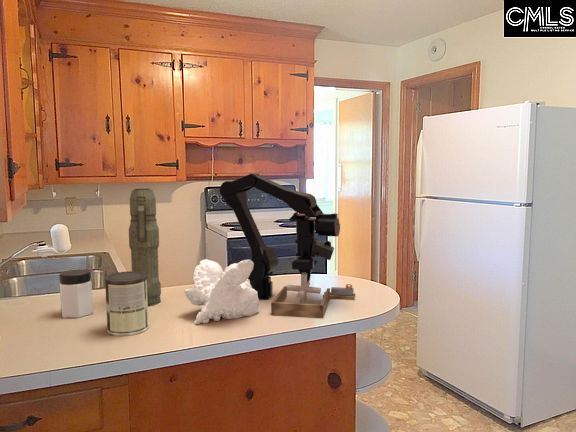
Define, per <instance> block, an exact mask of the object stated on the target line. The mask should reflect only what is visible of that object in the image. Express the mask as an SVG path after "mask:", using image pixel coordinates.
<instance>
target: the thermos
mask: <svg viewBox="0 0 576 432" xmlns="http://www.w3.org/2000/svg"><path fill="white" fill-rule="evenodd" d="M129 215H130V220H129V221H130V224H129V227H128V246H129V249H130V254H131V256H130V257H131V261H130V262H131V271H138V272H144V273H146V274H147V302H148V307H151V306H156V305H158V304H160V303H161V302H162V301H161V294H162V286H161V285H162V284H161V281H160V279H159V278H160V277H159V275H160V274H159V247H160V228H159V225H158V223H157V218H156V217H157V216H156V215H157V198H156V196H155V193H154V190H153V189H151V188H134V189H133V190H131V193H130V196H129Z"/></svg>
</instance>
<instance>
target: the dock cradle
mask: <svg viewBox="0 0 576 432" xmlns="http://www.w3.org/2000/svg"><path fill="white" fill-rule="evenodd" d="M287 298H288V291H287V285H284V286H283V287H282V289H281V290H280V291H279V292H278V293H277V295H276V296H275V297H274V299H273V300H272V301H271V303H270V304H271V305H270V306H271V309H270V311H271V313H270V314H271V316H283V317H300V318H302V317H303V318H317V319H319V318H320V319H323V318H324V315H325V313H326V311H327V307H328V305H329V303H330V300H345V301H355V300H356V293H355V292H354V296H336V295H331V288H326V291H324V292H323V295H322V300H321V303H320V304H315V303H307V304H301V302H300V303H296V302H295V303H292V302H285V301H286V299H287Z"/></svg>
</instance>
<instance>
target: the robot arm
mask: <svg viewBox="0 0 576 432" xmlns="http://www.w3.org/2000/svg"><path fill="white" fill-rule="evenodd" d="M253 188H255V189H257V190H259V191H261V192H263V193H264V194H265V193H266V194H268V195H269V196H272V197H274V198H276V199H278V200H280V201H282V202H284V203H285V204H286V205H287V206H288V207H289V208H290V209H291V210H293V211H294V212H293V214H292V216H291V217H290V218H289V219H288V220H289V222H295V234H296V235H295V237H296V239H295V241H294V242H295V244H296V253H295V258H294V259H293V260H292V261H291V269H292V270H298V273H300V275H301V273H307V281H309V282H310V281H311V276H312V271H313V270H314V268H315V266H316V265H317V262H318V260H316V259H314V258H315V257H316V258H317V257H320V258H323V259H325V260H327V261H331V259H332V256H333V254H334V250H335V247H334V246H332V242H331V241H329V240H325V241H324V242H318V239H317V238H318V237H316V234H317V235H318V236H319V237H338V236H339V235H340V232H341V223H340V220H339V216H338V215H339V214H338V213H324V212H323V211H322V210H321V207H319V205H318V203H317V199H316V197H315V195H313V194H311V193H308V192H303V191H299V190H293V189H290V188H288V187H286V186H284V185H282V184H279V183H277V182H275V181H273V180H271V179H268V178H267V177H264V176H262V175H261V174H260V173H256V172H255V173H249V174H248V175H246V176H243V177H240V178H237V179H235V180H225V181H224V182H222V183H221V185H220V186H219V189H218V190H219V194H220V196H221V198H222V200H223V201H224V203H225V204H227V205H228V207H230V208H231V209H232V211H233V213H234V215H235V217H236V219H237V221H238V224H239V226H240V229H241V230H242V233H243V234H244V237H245V240H246V241H247V244H248V247H249V249H250V255H251V256H250V257H251V259H250V260H251V261H252V262H253V263H254V265H253V270H252V272H251V273H250V275H249V277H248V279H247V280H249V283H250V285H251V286H252V289H255V291H257V295H258V298H259V300H260V299H262V300H268V299H270V297H271V296H272V295H273V290H274V289H273V286H274V285H273V284H274V283H273V281H272V275H273V274H274V271H276V269H277V268H278V265H279V260H278V259H279V256H278V255H277V254H276V251H275V247H273V246H271V247H269V246H267V245H266V243H265V241H264V239H263V237H262V235H261V233H260V230H259V228H258V226H257V223H256V222H255V220H254V217H253V215H252V213H251V210H250V209H249V207H248V204H247V203H248V201H247V199H248V197H247V192H248V191H250V190H252V189H253Z"/></svg>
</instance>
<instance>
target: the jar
mask: <svg viewBox="0 0 576 432" xmlns="http://www.w3.org/2000/svg"><path fill="white" fill-rule="evenodd" d="M91 273H92V272H91V270H89V269H81V268H80V269H69V270H66V271H61V272H60V273H59V274H58V275H59V276H58V277H59V278H58V279H59V290H60V291H59V293H60V294H59V295H60V310H61V315H62V318H64V319H66V318H68V319H73V318H74V319H75V318H76V319H78V318H82V317H85V316H88V315H92V314H93V313H94V309H93V291H92V290H93V289H92V288H93V287H92V286H93V285H92V274H91Z"/></svg>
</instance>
